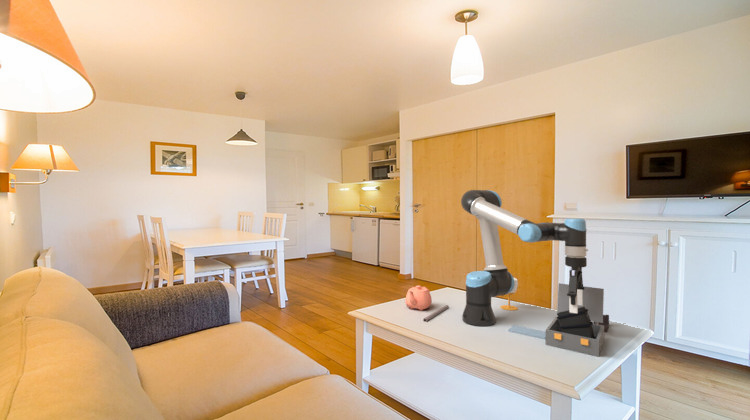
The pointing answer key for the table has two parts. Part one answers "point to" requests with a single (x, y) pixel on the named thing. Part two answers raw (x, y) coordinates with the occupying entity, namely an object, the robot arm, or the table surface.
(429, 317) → the metal rod
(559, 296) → the lid
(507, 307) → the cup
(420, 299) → the pink rounded piece
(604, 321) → the bracket
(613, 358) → the table surface
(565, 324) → the magazine
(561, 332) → the case
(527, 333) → the mat
